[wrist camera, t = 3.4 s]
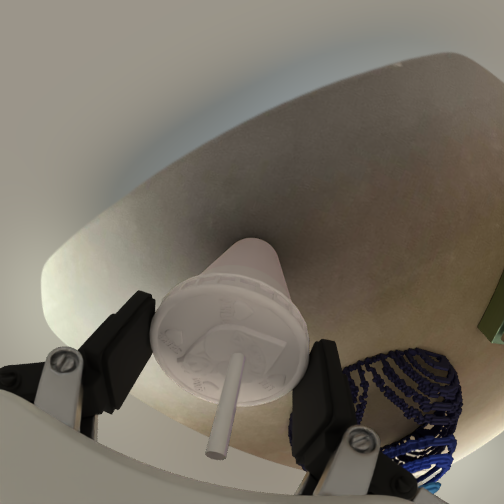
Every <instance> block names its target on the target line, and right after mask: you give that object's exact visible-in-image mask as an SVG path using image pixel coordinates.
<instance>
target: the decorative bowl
mask: <svg viewBox="0 0 504 504" xmlns="http://www.w3.org/2000/svg"><path fill="white" fill-rule="evenodd" d="M404 354H405V355H406V357H407V358H408V360H409V362H410V363H412V365H413V367H416V369H418V370H419V372H422V374H424V375H425V376H427V377H429V378H430V379H433V380H434V381H435V382H441V383H446V384H450V385H449V386H448V385H445V386H440V385H439V384H436V383H431V382H430V381H429V380H427V378H423V377H422V375H419V373H417V372H416V371H415V370H413V368H412V366H411V364H408V362H406V361H405V359H404V357H403V356H404ZM416 354H417V355H420V357H421V359H423V360H424V361H425V363H427V364H428V365H430V366H432V367H433V368H436V369H440V370H445V371H448V375H447V378H444V377H439V376H434V374H433V373H430V372H429V371H427V370H426V369H425V368H422V367H421V365H420V364H418V362H417V361H416V360H414V358H413V356H415V355H416ZM401 355H402V356H401ZM428 355H430V356H433V357H437V358H436V359H437V360H439V362H436V361H434V359H432V358H431V357H429V356H428ZM387 357H390V358H392V359H394V361H395V363H396V365H398V366H399V368H400V369H402V370H403V372H404V373H405V374H406V375H407V376H409V377H410V378H412V380H413V381H415V382H416V383H418V385H419V386H418V387H417V389H418V390H420V391H421V392H423V394H424V395H428V397H432V398H438V397H439V396H443V397H444V400H443V401H442V402H434V403H433V404H430V402H431V401H430V399H428V398H427V397H424V396H423V395H422V394H418V392H417V391H415V390H414V389H412V388H411V386H407V385H406V383H405V381H404V379H400V378H399V376H398V374H395V371H394V369H393V368H391V367H390V365H389V362H387V361H386V360H385V359H387ZM380 360H381V361H382V364H383V366H384V367H383V368H382V370H383V372H384V375H387V377H388V380H391V382H393V383H394V384H395V387H398V389H399V390H401V391H402V392H404V394H405V396H406V397H411V396H412V395H414V396H413V397H412V399H413V401H414V402H418V404H419V405H420V406H419V408H420V409H422V411H423V412H429V411H430V410H436V411H435V412H434V415H433V414H425V415H424V416H423V415H422V413H421V411H419V410H418V409H414V408H413V406H410V407H409V408H407V407H408V404H407V403H405V401H404V399H401V398H399V396H396V394H395V391H392V389H391V388H389V387H388V386H385V387H384V386H383V385H384V384H385V382H384V379H381V377H380V375H379V374H377V372H376V369H375V368H373V367H370V365H369V364H372V363H373V362H374V363H375V362H377V361H380ZM448 361H449V360H448V359H447V358H446V356H443V355H440V354H436V353H433V352H429V351H426V350H422V349H419V348H416V349H415V350H414V349H410V348H409V349H408V350H405V351H404V352H402V351H399V350H395V352H393V351H390V352H389V353H388V354H387V355H385V354H381V353H380V355H376V357H372V358H368V357H367V358H366V359H365V360H364V361H360V360H359V361H358V362H357V364H353V365H352V366H351V365H350V366H349V367H345V368H344V370H343V371H342V372H343V374H346V375H347V378H348V381H349V386H350V390H351V395H352V399H353V403H356V402H357V398H356V397H357V396H358V392H359V389H358V386H355V382H354V380H353V379H351V376H350V371H351V372H352V371H353V370H356V369H358V373H359V376H360V379H361V384H360V387H363V390H364V392H363V393H362V395H363V396H361V395H360V396H359V401H360V402H362V403H361V404H357V405H356V408H357V411H356V412H355V413H356V419H357V424H358V425H361V423H360V422H361V421H362V417H363V413H364V412H365V411H364V409H365V408H366V406H365V405H366V404H367V401H365V400H364V398H367V397H368V396H367V391H368V387H369V383H368V381H365V377H364V374H365V371H364V370H362V368H361V365H364V364H365V367H366V370H367V371H369V372H370V371H372V374H373V376H374V378H373V379H372V381H373V382H375V383H376V386H377V387H379V388H380V391H381V392H383V391H384V390H385V393H384V396H385V397H387V399H390V401H391V402H393V403H394V404H395V405H397V407H399V408H400V410H403V412H405V413H404V414H403V415H404V417H407V419H410V418H411V417H414V418H415V419H414V422H417V424H422V423H423V422H425V423H424V424H423V425H422V426H420V427H419V428H418V429H417V430H415V431H414V432H413V433H412V434H410V435H408V436H406V437H405V438H402V439H401V440H400V441H398V442H395V443H392V444H391V445H387V446H385V447H383V448H380V450H379V451H381V452H382V453H384V454H385V455H386V456H388V457H389V458H390V459H392V460H393V461H395V462H396V463H397V464H399V465H400V466H402V467H403V468H405V469H406V470H407V471H409V472H410V473H415V472H417V471H421V470H423V469H429V468H430V467H431V465H430V464H436V466H435V467H434V468H432V469H431V470H429V471H428V472H427V473H425V474H423V475H421V476H420V477H418V478H416V480H417V483H419V482H420V481H423V480H424V479H426V478H427V477H429V476H430V475H432V474H433V473H434V472H436V471H437V470H439V469H440V468H442V470H441V472H440V473H438V474H437V475H435V477H433V478H432V479H431V480H429V481H428V482H426V483H424V484H423V485H420V486H419V487H418V488H420V487H424V488H425V489H427V490H428V491H429V492H431V493H433V494H434V493H435V492H437V491H438V490H439V488H440V486H441V484H440V483H438V482H436V481H438V479H440V478H441V477H442V476H443V475H444V474H445V473H446V472H447V471H448V470H449V469H450V467H451V464H452V461H453V460H454V459H453V457H452V453H453V452H455V448H456V446H457V440H456V439H455V437H454V435H453V433H454V432H455V430H456V427H457V426H456V425H457V422H458V419H459V415H460V414H461V412H462V408H461V407H462V406H463V403H462V400H463V399H462V395H461V393H462V392H461V386H460V385H459V384H460V382H459V379H458V375H457V372H456V371H455V369H454V368H453V366H452V365H451V364H450V362H448ZM438 392H440V393H439V394H437V393H438ZM446 411H447V412H446ZM445 413H446V414H447V416H445ZM417 416H418V418H416V417H417ZM289 421H290V422H289V426H288V429H289V431H288V434H289V435H288V437H289V439H290V443H291V446H292V423H293V412H292V413H291V414H290V419H289ZM428 424H430V425H434V427H432V428H431V429H424V427H425V426H427V425H428ZM443 425H444V427H442V426H443ZM446 428H447V429H446ZM440 430H442V431H440ZM438 434H439V436H438V437H437V438H435V437H436V436H437V435H438ZM411 436H413V437H415V440H410V437H411ZM441 436H442V438H440V437H441ZM403 440H406V441H407V442H406V443H404V441H403ZM399 443H400V445H399ZM430 446H432V447H431V448H429V447H430ZM446 446H447V447H448V451H449V452H448V453H445V454H441V452H442V451H444V450H445V447H446ZM427 448H429V449H427ZM383 449H385V450H384V451H382V450H383ZM421 449H424V451H423V452H422V451H420V452H417V451H416V450H421ZM426 449H427V450H426ZM433 449H434V450H433ZM425 450H426V451H425ZM430 450H433V451H431V452H430V453H429V454H428V455H427V454H426V453H427V452H429V451H430ZM412 451H413V452H412ZM406 453H408V454H411V455H417V456H419V455H422V456H420V457H419V458H417V456H415V457H412V456H408V455H406ZM435 453H436V454H435ZM423 455H424V456H423ZM395 457H397V459H398V460H397V459H396V458H395ZM295 458H296V457H295ZM400 461H403V462H405V464H403V462H401V463H400ZM298 465H300V466H302V469H303V470H304V471H306V472H307V470H306V469H305V465H304V464H298Z"/></svg>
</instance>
